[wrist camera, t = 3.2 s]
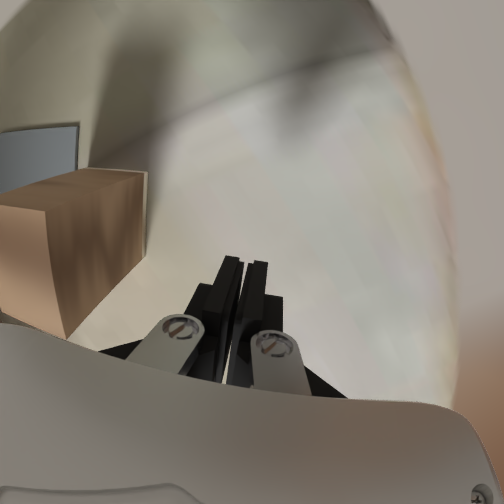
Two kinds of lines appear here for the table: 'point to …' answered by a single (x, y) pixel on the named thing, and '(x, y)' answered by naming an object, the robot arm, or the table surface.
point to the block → (69, 244)
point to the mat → (36, 155)
